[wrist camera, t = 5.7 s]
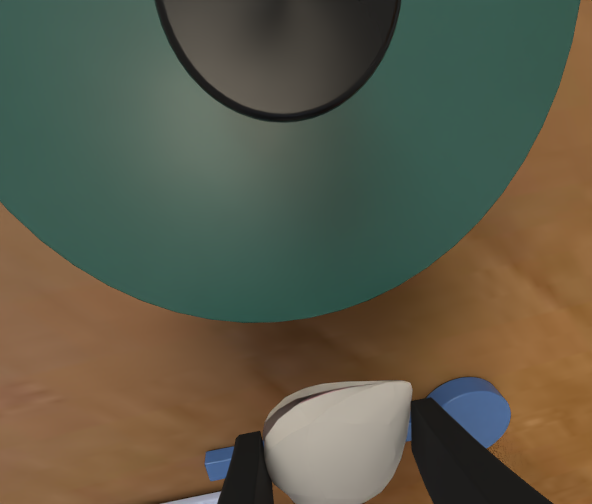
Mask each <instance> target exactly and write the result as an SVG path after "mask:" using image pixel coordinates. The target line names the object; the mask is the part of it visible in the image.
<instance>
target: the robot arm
mask: <svg viewBox="0 0 592 504" xmlns="http://www.w3.org/2000/svg"><path fill="white" fill-rule="evenodd" d="M411 446H412V453H413V455H414V458H415V461H416V463H417V466H418V469H419V471H420V474H421V476H422V479H423V481H424V484H425V486H426V489H427V491H428V493H429V495H430V497H431V499H432V501H433V503H434V504H553V503H552V502H551V501H549V500H548V499H547V498H545V497H544V496H543V495H541V494H540V493H539V492H538V491H536V490H535V489H534V488H533V487H531V486H530V485H529V484H528V483H526V482H525V481H524V480H523V479H521V478H520V477H519V476H518V475H516V474H515V473H514V472H513V471H512V470H510V469H509V468H508V467H507V466H506V465H504V464H503V463H502V462H501V461H500V460H499V459H498V458H496V457H495V456H494V455H493V454H492V453H491V452H489V451H488V450H487V449H486V448H485V447H484V446H483V445H481V444H480V443H479V442H478V441H477V440H476V439H475V438H474V437H473V436H472V435H470V434H469V433H468V432H467V431H466V430H465V429H464V428H463V427H462V426H461V425H460V424H459V423H458V422H457V421H456V420H455V419H453V418H452V417H451V416H450V415H449V414H448V413H447V412H446V411H445V410H444V409H443V408H442V407H441V406H440V405H439V404H438V403H437V402H436V401H435V400H434V399H433V398H431V397H430V398H425V399H420V400H415V401H411ZM161 504H274V501H273V490H272V480H271V478H270V476H269V474H268V471H267V467H266V463H265V459H264V445H263V441H262V437H261V433H260V431H257V432H252V433H247V434H242V435H239V436H238V437H237V438H236V441H235V446H234V450H233V454H232V458H231V461H230V465H229V468H228V472H227V475H226V478H225V481H224V485H223V488H222V491H220V492H215V493H210V494H205V495H200V496H195V497H190V498H186V499H181V500H176V501H171V502H166V503H161Z"/></svg>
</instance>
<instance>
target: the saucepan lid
mask: <svg viewBox="0 0 592 504" xmlns="http://www.w3.org/2000/svg"><path fill="white" fill-rule="evenodd" d="M579 5H580V0H0V202H1V203H2V204H3V205H4V206H5V207H6V208H7V210H8V211H9V212H10V213H12V214H13V215H14V216H15V217H16V218H17V219H18V220H19V221H20V222H21V223H22V224H23V225H25V226H26V227H27V228H28V229H29V230H30V231H31V232H32V233H33V234H34V235H35V236H36V237H38V238H39V239H40V240H41V241H42V242H44V243H45V244H46V245H48V246H49V247H50V248H52V249H53V250H54V251H56V252H57V253H58V254H60V255H61V256H62V257H64V258H65V259H66V260H68V261H69V262H70V263H72V264H73V265H74V266H76V267H78V268H80V269H81V270H83V271H85V272H86V273H88V274H90V275H91V276H93V277H95V278H96V279H98V280H100V281H101V282H103V283H105V284H107V285H108V286H110V287H113V288H115V289H117V290H119V291H121V292H124V293H126V294H128V295H130V296H132V297H135V298H137V299H139V300H141V301H144V302H147V303H150V304H153V305H156V306H159V307H162V308H165V309H168V310H171V311H174V312H178V313H182V314H187V315H192V316H197V317H201V318H206V319H211V320H221V321H232V322H242V323H258V322H282V321H290V320H298V319H306V318H311V317H316V316H320V315H324V314H328V313H332V312H336V311H340V310H343V309H346V308H349V307H351V306H354V305H357V304H360V303H362V302H365V301H368V300H370V299H372V298H375V297H377V296H379V295H381V294H383V293H385V292H387V291H389V290H391V289H393V288H395V287H397V286H399V285H401V284H402V283H404V282H405V281H407V280H408V279H410V278H412V277H413V276H415V275H416V274H418V273H420V272H421V271H423V270H424V269H426V268H427V267H429V266H430V265H431V264H432V263H434V262H435V261H436V260H437V259H439V258H440V257H441V256H442V255H444V254H445V253H446V252H448V251H449V250H450V249H451V248H453V247H454V246H455V245H456V244H457V243H458V242H459V241H460V240H461V239H462V238H463V237H464V236H465V235H466V234H467V233H468V232H469V231H470V230H471V229H472V228H473V227H474V226H475V225H476V224H477V223H478V222H479V221H480V220H481V219H482V218H483V216H484V215H485V214H486V213H487V211H488V210H489V209H490V208H491V207H492V205H493V204H494V203H495V202H496V201H497V199H498V198H499V197H500V196H501V195H502V193H503V192H504V190H505V189H506V187H507V186H508V184H509V183H510V181H511V180H512V178H513V177H514V175H515V174H516V172H517V171H518V169H519V168H520V166H521V165H522V163H523V162H524V160H525V158H526V156H527V155H528V153H529V151H530V149H531V147H532V145H533V143H534V141H535V140H536V138H537V136H538V134H539V132H540V130H541V128H542V126H543V124H544V122H545V119H546V117H547V114H548V112H549V110H550V107H551V105H552V102H553V100H554V97H555V95H556V92H557V90H558V88H559V85H560V82H561V78H562V75H563V72H564V68H565V65H566V61H567V58H568V55H569V51H570V48H571V45H572V41H573V36H574V31H575V25H576V20H577V15H578V10H579Z"/></svg>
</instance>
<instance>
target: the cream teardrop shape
mask: <svg viewBox="0 0 592 504" xmlns="http://www.w3.org/2000/svg"><path fill="white" fill-rule="evenodd" d="M411 398H412V386H411V383H409V382H407V381H404V380H380V381H351V382H337V383H326V384H320V385H316V386H312V387H308V388H304V389H302V390H299V391H297V392H295V393H293V394H291V395H289V396H287V397H285V398H284V399H283V400H282V401H281V402H280V403H279V404H278V405H277V406H276V407H275V408H274V409H273V410H272V411H271V412H270V413H269V415H268V417H267V419H266V421H265V424H264V429H263V441H264V459H265V463H266V467H267V471H268V474H269V476H270V478H271V480H272V481H273V483H274V484H275V485H276V486H277V487H278V488H280V489H281V490H282V491H284V492H285V493H286V494H287V495H288V496H289V497H290V498H291V499H292V501H293V502H294V503H296V504H362V503H365V502H366V501H368V500H369V499H371V498H373V497H374V496H376V495H377V494H379V493H381V492H382V490H383V489H384V488H385V487H386V485H387V484H388V483H389V481H390V480H391V479H392V477H393V475H394V473H395V471H396V468H397V466H398V464H399V462H400V460H401V457H402V453H403V449H404V445H405V441H406V438H407V433H408V426H409V419H410V411H411Z"/></svg>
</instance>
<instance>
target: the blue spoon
mask: <svg viewBox="0 0 592 504" xmlns="http://www.w3.org/2000/svg"><path fill="white" fill-rule="evenodd" d="M430 397H431V398H433V399H434V400H435V401H436V402H437V403H438V404H439V405H440V406H441V407H442V408H443V409H444V410H445V411H446V412H447V413H448V414H449V415H450V416H451V417H452V418H453V419H455V420H456V421H457V422H458V423H459V424H460V425H461V426H462V427H463V428H464V429H465V430H466V431H467V432H468V433H469V434H470V435H472V436H473V437H474V438H475V439H476V440H477V441H478V442H479V443H480V444H481V445H483V446H484V447H485V448H486V449H487V448H488V447H490V446H491V445H492V444H494V443H495V442H496V441H497V440H498V439H499V438H500V437H501V436H502V435H503V434H504V432H505V431H506V429H507V427H508V425H509V422H510V417H511V412H510V407H509V404H508V403H507V401H506V400H505V399H504V398H503V396H502V395H501V394H500V393H499V392H498V391H497V389H496V388H495V387H494V386H493V385H492V384H491V383H490V382H488V381H486V380H483V379H481V378H476V377H464V378H458V379H454V380H451V381H449V382H446V383H444V384H443V385H441V386H439V387H438V388H436V389H435V390H434V391H433V392H431V393H430V394H429V395H428V396H427V398H430ZM406 441H411V411H410V419H409V426H408V433H407V438H406ZM406 441H405V442H406ZM263 445H264V441H263ZM233 450H234V446H233V447H228V448H223V449H218V450H213V451H208V452H206V457H205V467H206V470H207V473H208V476H209V479H210V481H215V480H220V479H224V478H226V475H227V472H228V468H229V465H230V461H231V458H232V454H233Z"/></svg>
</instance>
